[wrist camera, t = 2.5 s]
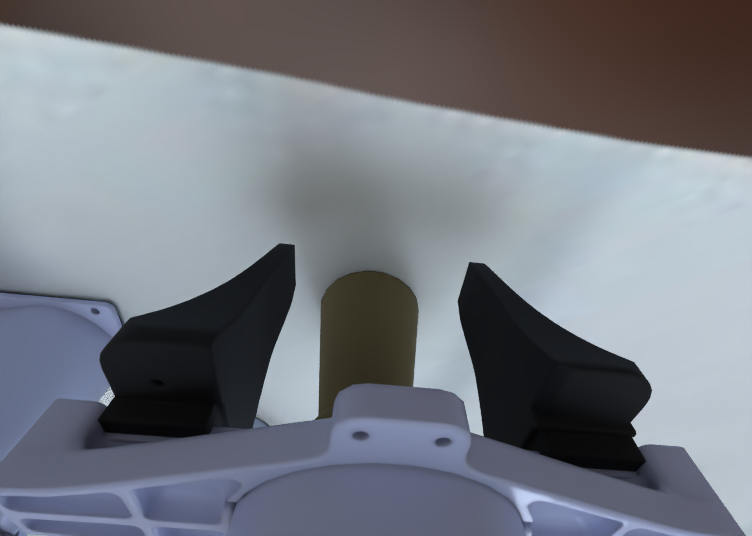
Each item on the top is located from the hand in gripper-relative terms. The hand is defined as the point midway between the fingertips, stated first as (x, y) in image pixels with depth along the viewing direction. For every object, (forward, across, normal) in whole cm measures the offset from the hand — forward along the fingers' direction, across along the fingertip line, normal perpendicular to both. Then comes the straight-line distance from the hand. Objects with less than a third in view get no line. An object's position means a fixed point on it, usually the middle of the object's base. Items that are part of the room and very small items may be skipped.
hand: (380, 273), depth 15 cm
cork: (+5, 0, +6) cm, 8 cm away
